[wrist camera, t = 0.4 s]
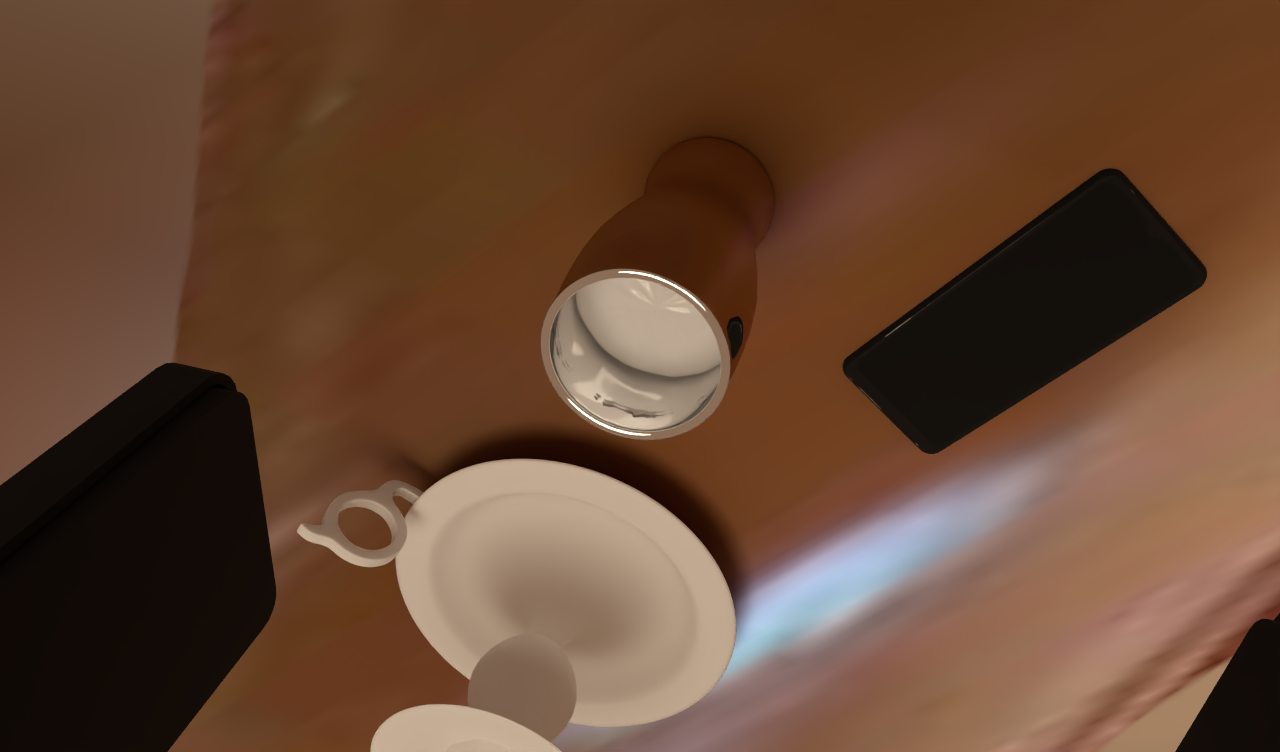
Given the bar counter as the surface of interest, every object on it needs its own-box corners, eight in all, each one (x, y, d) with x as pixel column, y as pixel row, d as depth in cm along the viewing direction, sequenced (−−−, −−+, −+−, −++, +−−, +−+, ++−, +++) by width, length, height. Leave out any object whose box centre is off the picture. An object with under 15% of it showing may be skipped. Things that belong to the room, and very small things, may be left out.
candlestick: (446, 317, 51) (63, 753, 28) (815, 567, 54) (749, 1152, 31) (314, 535, 62) (-38, 976, 39) (626, 732, 65) (472, 1254, 42)
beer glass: (676, 98, 42) (581, 224, 30) (813, 174, 43) (776, 331, 30) (612, 225, 46) (504, 384, 34) (738, 295, 46) (678, 478, 34)
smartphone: (835, 368, 47) (1114, 164, 39) (837, 360, 48) (1110, 158, 40) (929, 461, 48) (1216, 280, 40) (928, 451, 49) (1211, 272, 41)
